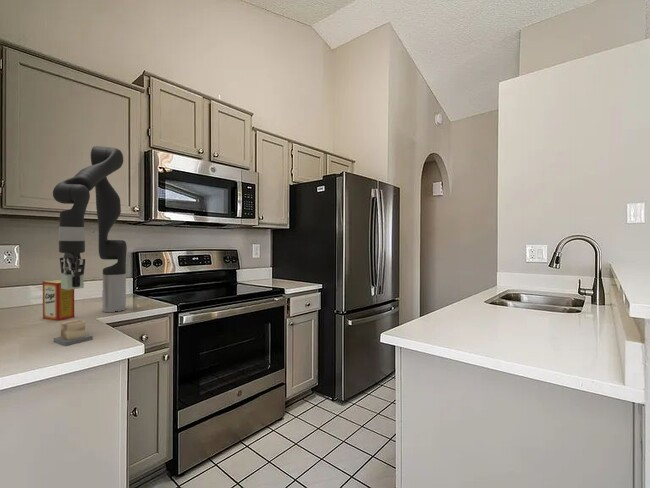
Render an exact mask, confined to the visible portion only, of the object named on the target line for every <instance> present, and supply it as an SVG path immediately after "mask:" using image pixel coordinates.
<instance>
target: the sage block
mask: <svg viewBox="0 0 650 488" xmlns="http://www.w3.org/2000/svg"><path fill="white" fill-rule="evenodd" d="M60 280H61V288H62V289H66V290H70V289H74V290H75V289H76V290H77V289H84V284H85V282H84V275H81V276H80V287H72V274H63V273H61V274H60Z"/></svg>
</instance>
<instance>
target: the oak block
mask: <svg viewBox="0 0 650 488" xmlns="http://www.w3.org/2000/svg"><path fill="white" fill-rule="evenodd" d="M85 334H86V321H84V320H81V319H74V320H70V321H69V320H68V321H65V322H63V321H62V322H60V337H61V338H63V339H66V340H71V339H76V338H80V337H84V336H85Z"/></svg>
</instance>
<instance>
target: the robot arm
mask: <svg viewBox="0 0 650 488" xmlns="http://www.w3.org/2000/svg"><path fill="white" fill-rule="evenodd" d="M90 162H91V163H90V164H91V165H89V166H86V167H84V168H82V169H81V170H79V171H78V172H77V173H76V174H75V175H74V176H73V177H69V178H67V179H65V180H62V181H60V182H59V183H57V184H56V185H55V186H54V188H53V190H52V197H53V199H54V200H55V201H56V202H57V203H59V204H64V205H65V204H66V205H67V204H69V205H72V207H71V208H70V209H64V210H62V211H60V213H59V230H58V253H61V254H63V257H59V266H60V273H61V274H72V287H80V276H81V275H84V274H85V266H86V259H85V258H82V257H81V253H83V254H84V253H85V251H86V232H85V214H86V211H87V207H88V204H89V201H90V199H91V198H90V197H91V194H90V192H91V191H92V190H93V189H95V191H94V192H95V205H96V206H95V208H96V215H97V217H96V218H97V225H98V227H97V228H98V239H97V242H98V245H97V246H98V256H99V258H100V259H101V260H105V261H106V260H107V261H108V260H109V261H110V260H114V261H115V260H116V261H117V262H115V264H112V265H109V266H107V267H103V269H102V294H101V295H102V296H101V298H102V305H101V306H102V308H101V309H102V312H104V313H116V312H115V311H118V312H122V311H121V310H123V311H125V310H126V309H127V282H126V281H127V253H128V252H127V250H128V248H127V246H128V245H127V242H126V240H123V239H109V238H108V236H109V233H110V231H111V228H112V227H113V225H114V224H115V223H116V221H118V219H119V217H120V216H121V212H122V210H121V209H122V208H121V206H122V205H121V198H120V196H119V194H118V193H117V191H116V190H115V188H114V187H113V186H112V184H111V183H110V181H109V180H108V178H107V177H108V176H109V175H111V174H113V173H114V172H116V171H117V170H119V169H120V168H122V166H123V165H124V154H123V152H122V151H121V149H119V148H115V147H111V146H100V145H95V146H93V147H91V149H90Z"/></svg>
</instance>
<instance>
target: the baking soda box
mask: <svg viewBox="0 0 650 488" xmlns="http://www.w3.org/2000/svg"><path fill="white" fill-rule="evenodd" d="M72 318H75V289H70V290H66V289H62V288H61V279H55V280H46V281H42V319H43V320H49V321H57V322H59V321H63V320H68V319H72Z"/></svg>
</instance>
